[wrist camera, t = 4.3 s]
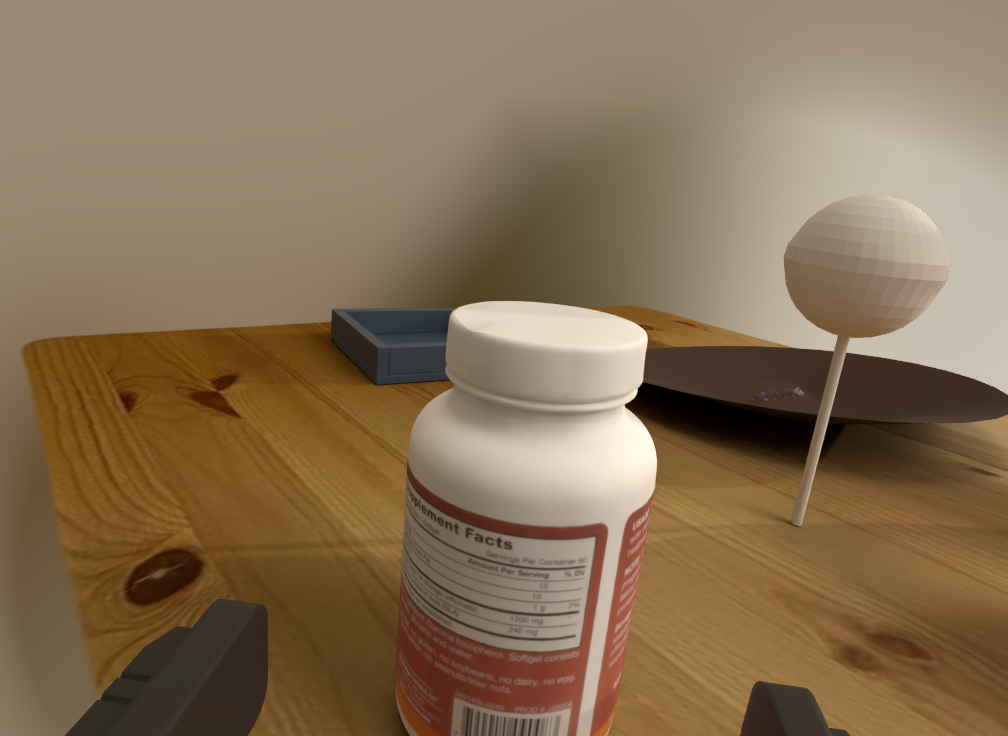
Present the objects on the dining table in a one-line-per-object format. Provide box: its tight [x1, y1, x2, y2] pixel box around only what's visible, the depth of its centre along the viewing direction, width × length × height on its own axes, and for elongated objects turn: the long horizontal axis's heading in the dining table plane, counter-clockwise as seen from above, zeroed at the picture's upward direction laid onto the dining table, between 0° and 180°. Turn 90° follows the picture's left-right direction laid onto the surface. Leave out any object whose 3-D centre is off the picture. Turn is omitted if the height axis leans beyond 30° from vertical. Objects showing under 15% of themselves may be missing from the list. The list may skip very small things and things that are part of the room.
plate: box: [643, 346, 1008, 424], centre depth 49 cm, size 28×28×4 cm
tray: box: [331, 308, 457, 385], centre depth 51 cm, size 12×12×3 cm
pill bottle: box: [395, 301, 657, 736], centre depth 17 cm, size 6×6×11 cm
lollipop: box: [784, 195, 951, 526], centre depth 28 cm, size 6×6×15 cm
